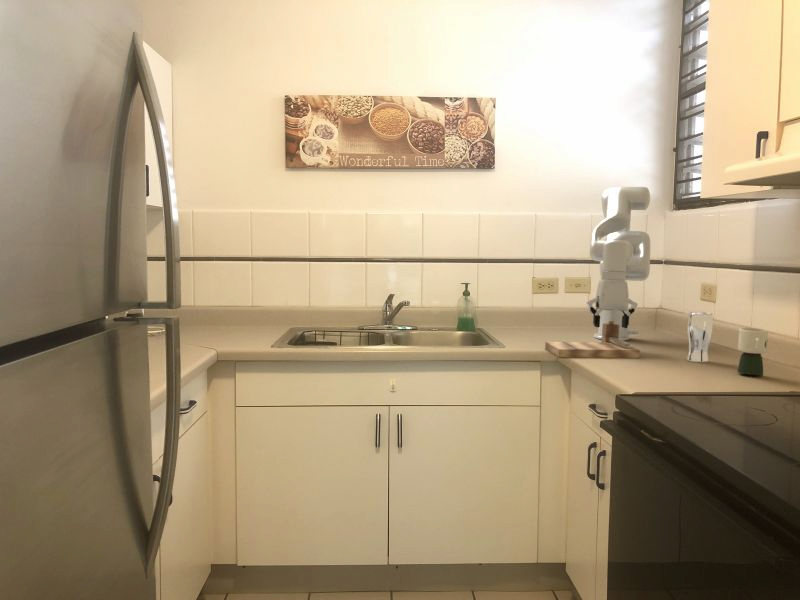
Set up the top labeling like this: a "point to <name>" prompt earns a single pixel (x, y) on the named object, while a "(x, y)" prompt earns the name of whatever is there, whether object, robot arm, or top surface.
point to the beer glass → (699, 336)
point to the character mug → (752, 350)
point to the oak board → (591, 350)
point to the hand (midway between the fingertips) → (610, 327)
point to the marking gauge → (613, 334)
